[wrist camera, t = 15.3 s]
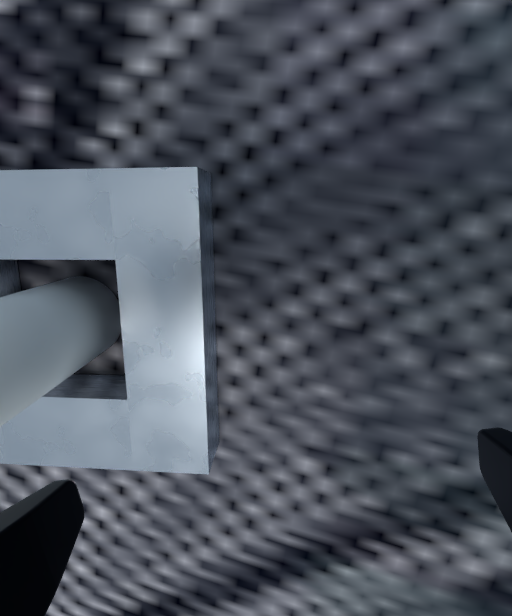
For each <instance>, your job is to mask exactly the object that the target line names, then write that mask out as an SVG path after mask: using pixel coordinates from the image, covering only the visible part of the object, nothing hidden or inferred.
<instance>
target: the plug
mask: <svg viewBox="0 0 512 616" xmlns="http://www.w3.org/2000/svg"><path fill="white" fill-rule="evenodd" d="M120 333H121V320H120V308H119V301H118V300H117V298H116V296H115V295H114V294H113V292H112V291H111V290H110V289H109V288H108V287H107V286H105V285H104V284H103V283H101V282H99V281H97V280H95V279H93V278H89V277H83V276H75V277H70V278H66V279H63V280H59V281H56V282H52V283H49V284H45V285H42V286H38V287H35V288H31V289H28V290H24V291H21V292H17V293H14V294H10V295H7V296H3V297H0V427H1V426H2V425H4V424H5V423H6V422H8V421H9V420H10V419H12V418H13V417H15V416H16V415H17V414H19V413H20V412H21V411H23V410H24V409H26V408H27V407H28V406H30V405H31V404H32V403H34V402H35V401H37V400H38V399H39V398H41V397H42V396H43V395H45V394H46V393H48V392H49V391H50V390H52V389H53V388H54V387H56V386H57V385H59V384H60V383H61V382H63V381H64V380H65V379H67V378H68V377H70V376H71V375H72V374H74V373H75V372H76V371H78V370H79V369H81V368H82V367H83V366H85V365H86V364H87V363H89V362H90V361H92V360H93V359H94V358H96V357H97V356H98V355H100V354H101V353H103V352H104V351H105V350H107V349H108V348H109V347H111V346H112V345H113V344H114V343H115V342H116V340H117V339H118V337H119V335H120Z"/></svg>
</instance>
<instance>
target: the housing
mask: <svg viewBox="0 0 512 616" xmlns="http://www.w3.org/2000/svg"><path fill="white" fill-rule="evenodd" d="M17 260H115V262H116V273H117V285H118V297H119V308H120V320H121V331H122V343H123V355H124V366H125V376H120V375H87V374H72V375H71V376H70V377H68V378H67V379H65V380H64V381H63V382H61V383H60V384H59V385H57V386H56V387H54V388H53V389H52V390H50V391H49V392H48V393H46V394H45V395H43V396H42V397H41V398H39V399H38V400H37V401H35V402H34V403H32V404H31V405H30V406H28V407H27V408H26V409H24V410H23V411H21V412H20V413H19V414H17V415H16V416H15V417H13V418H12V419H10V420H9V421H8V422H6V423H5V424H4V425H2V426H1V427H0V463H2V464H22V465H41V466H60V467H79V468H98V469H117V470H136V471H155V472H174V473H193V474H209V472H210V469H211V466H212V463H213V460H214V457H215V454H216V451H217V448H218V444H219V417H218V384H217V351H216V318H215V285H214V252H213V218H212V185H211V173H209V172H207V171H205V170H202V169H200V168H198V167H162V168H105V169H48V170H0V297H3V296H7V295H10V294H14V293H17V292H21V285H20V278H19V271H18V264H17Z"/></svg>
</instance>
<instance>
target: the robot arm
mask: <svg viewBox="0 0 512 616" xmlns="http://www.w3.org/2000/svg"><path fill="white" fill-rule="evenodd" d="M478 450H479V463H480V469H481V473H482V475H483V478H484V480H485V482H486V484H487V486H488V488H489V489H490V491H491V493H492V495H493V497H494V499H495V501H496V503H497V505H498V507H499V509H500V511H501V512H502V514H503V516H504V518H505V520H506V522H507V524H508V526H509V528H510V530H511V532H512V432H510V431H508V430H505V429H503V428H490V429H482V430H480V431H479V432H478ZM83 520H84V507H83V504H82V501H81V498H80V495H79V492H78V489H77V485H76V483H75V482H74V481H73V480H71V479H67V480H59V481H54V482H52V483H50V484H49V485H47V486H45V487H44V488H42V489H40V490H38V491H37V492H35V493H33V494H31V495H30V496H28V497H26V498H25V499H23V500H21V501H19V502H18V503H16V504H14V505H13V506H11V507H9V508H7V509H6V510H4V511H2V512H1V513H0V616H45V614H46V612H47V610H48V608H49V606H50V604H51V602H52V599H53V597H54V595H55V593H56V591H57V588H58V586H59V583H60V581H61V578H62V576H63V573H64V571H65V568H66V565H67V563H68V560H69V557H70V555H71V552H72V550H73V547H74V544H75V542H76V539H77V536H78V534H79V531H80V528H81V526H82V523H83Z"/></svg>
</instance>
